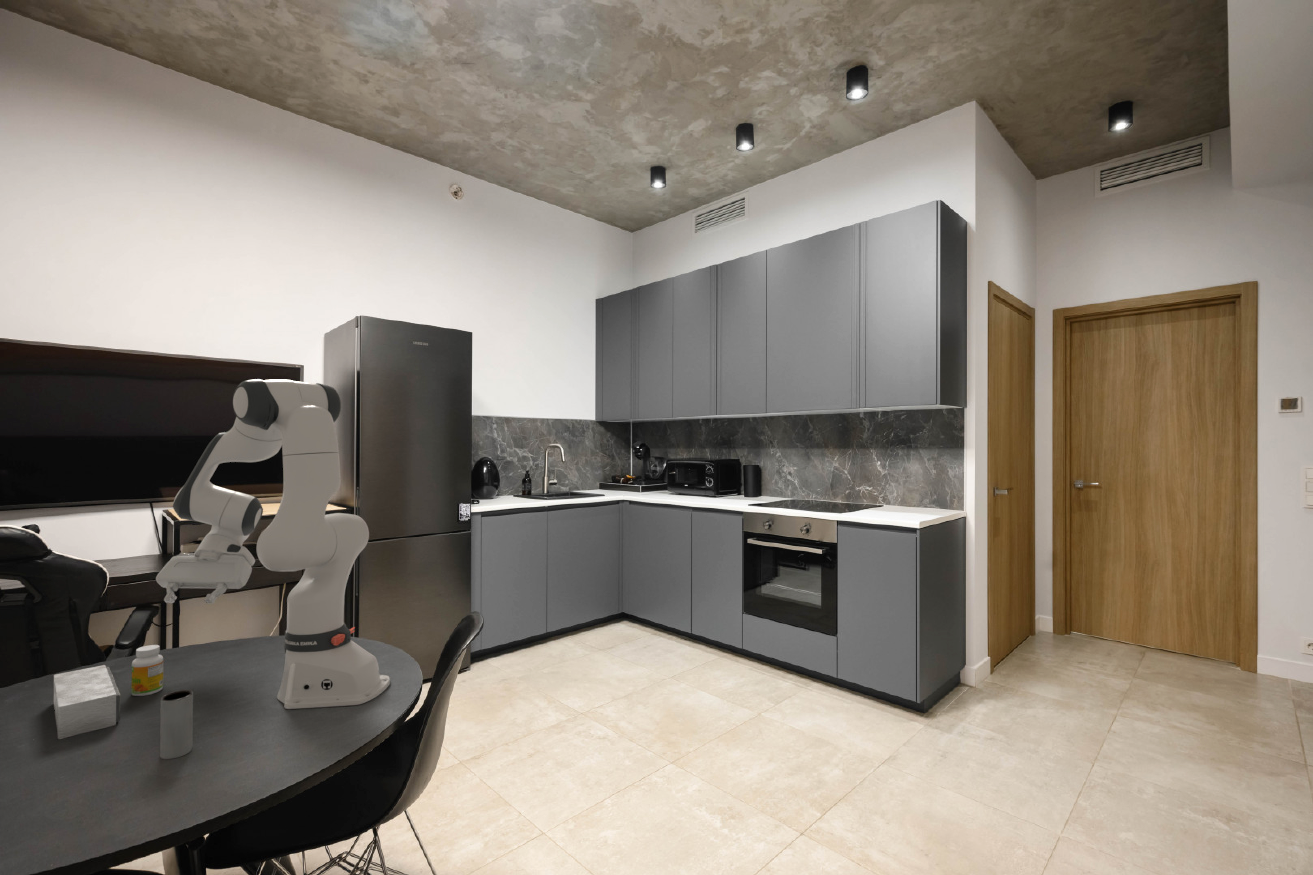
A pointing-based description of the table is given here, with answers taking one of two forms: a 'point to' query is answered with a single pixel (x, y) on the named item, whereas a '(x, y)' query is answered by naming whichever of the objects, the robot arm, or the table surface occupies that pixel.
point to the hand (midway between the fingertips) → (188, 602)
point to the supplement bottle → (147, 671)
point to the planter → (176, 724)
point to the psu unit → (85, 701)
